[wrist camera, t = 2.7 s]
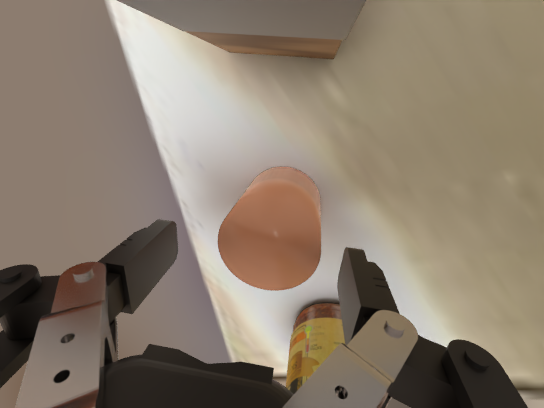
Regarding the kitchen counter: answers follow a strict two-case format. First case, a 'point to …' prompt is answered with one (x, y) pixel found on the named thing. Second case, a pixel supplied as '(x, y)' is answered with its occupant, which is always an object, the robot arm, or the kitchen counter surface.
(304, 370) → the sauce bottle
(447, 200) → the kitchen counter surface
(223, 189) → the kitchen counter surface
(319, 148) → the kitchen counter surface
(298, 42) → the walnut block
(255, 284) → the clay cylinder
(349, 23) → the slate block
